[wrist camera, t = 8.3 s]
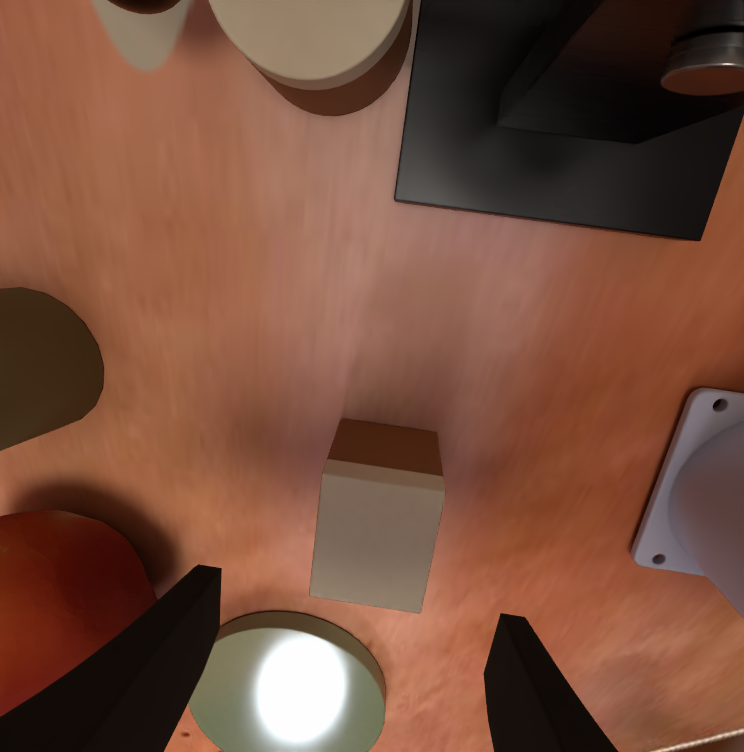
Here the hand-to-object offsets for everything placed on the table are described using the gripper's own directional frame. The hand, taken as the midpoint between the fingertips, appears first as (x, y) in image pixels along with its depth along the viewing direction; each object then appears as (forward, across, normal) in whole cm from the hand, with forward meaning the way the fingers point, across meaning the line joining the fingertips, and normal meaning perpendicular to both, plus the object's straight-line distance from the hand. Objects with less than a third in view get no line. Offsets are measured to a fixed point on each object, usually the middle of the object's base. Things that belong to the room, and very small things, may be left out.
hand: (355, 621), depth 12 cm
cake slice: (+8, 0, +1) cm, 8 cm away
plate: (+8, +3, +14) cm, 16 cm away
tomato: (+8, +13, +8) cm, 17 cm away
